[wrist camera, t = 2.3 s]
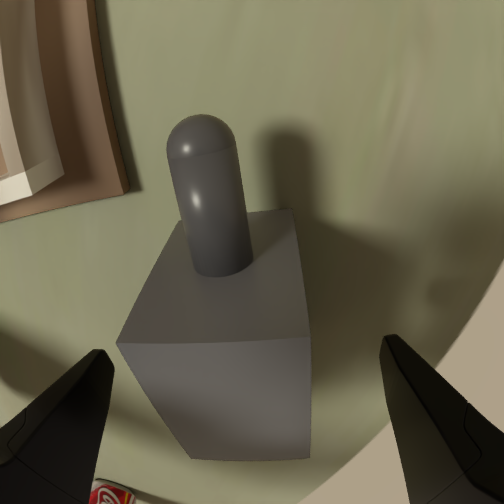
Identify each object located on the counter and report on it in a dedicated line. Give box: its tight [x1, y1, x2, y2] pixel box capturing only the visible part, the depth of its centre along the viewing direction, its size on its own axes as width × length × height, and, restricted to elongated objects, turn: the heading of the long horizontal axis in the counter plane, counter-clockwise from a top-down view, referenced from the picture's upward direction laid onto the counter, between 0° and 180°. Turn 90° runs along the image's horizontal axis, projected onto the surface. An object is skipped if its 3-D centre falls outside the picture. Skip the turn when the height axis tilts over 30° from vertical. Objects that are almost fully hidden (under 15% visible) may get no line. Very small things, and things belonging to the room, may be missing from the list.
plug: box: [116, 114, 311, 461], centre depth 9 cm, size 4×10×6 cm, turn 8°
